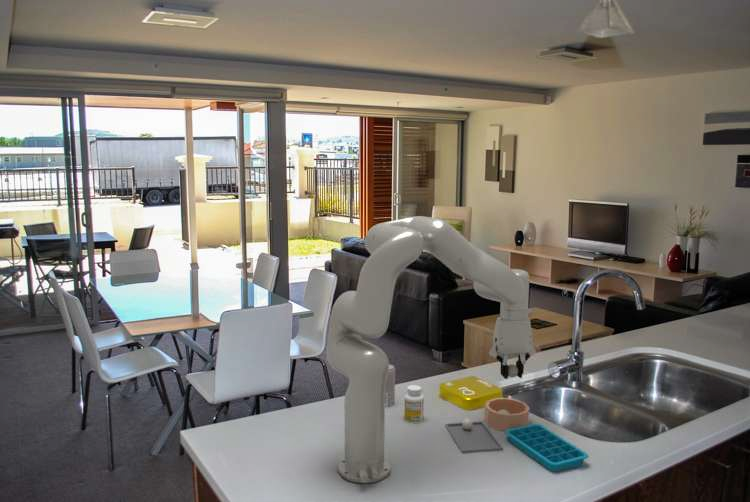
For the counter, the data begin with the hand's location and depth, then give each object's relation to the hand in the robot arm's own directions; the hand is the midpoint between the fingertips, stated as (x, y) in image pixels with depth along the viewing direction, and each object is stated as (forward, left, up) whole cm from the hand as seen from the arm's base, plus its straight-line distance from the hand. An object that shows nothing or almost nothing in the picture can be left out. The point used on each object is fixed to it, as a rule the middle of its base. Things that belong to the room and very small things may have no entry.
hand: (511, 376), depth 174 cm
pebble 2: (-3, +3, -13) cm, 13 cm away
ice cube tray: (-20, -2, -14) cm, 24 cm away
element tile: (+17, +6, -14) cm, 23 cm away
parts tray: (-10, +14, -13) cm, 22 cm away
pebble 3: (0, 0, 0) cm, 0 cm away
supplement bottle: (+4, +27, -13) cm, 31 cm away
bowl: (-2, +2, -13) cm, 13 cm away
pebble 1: (-5, +14, -13) cm, 20 cm away
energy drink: (+16, +33, -13) cm, 39 cm away
